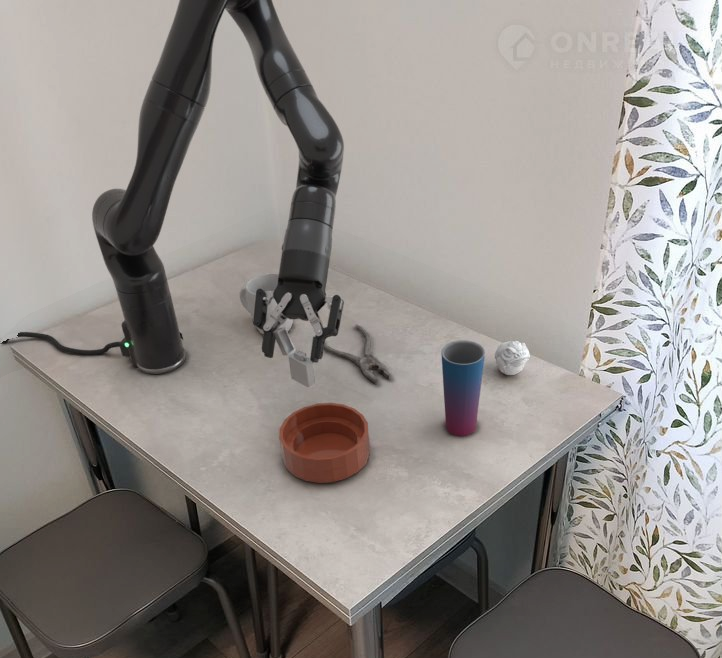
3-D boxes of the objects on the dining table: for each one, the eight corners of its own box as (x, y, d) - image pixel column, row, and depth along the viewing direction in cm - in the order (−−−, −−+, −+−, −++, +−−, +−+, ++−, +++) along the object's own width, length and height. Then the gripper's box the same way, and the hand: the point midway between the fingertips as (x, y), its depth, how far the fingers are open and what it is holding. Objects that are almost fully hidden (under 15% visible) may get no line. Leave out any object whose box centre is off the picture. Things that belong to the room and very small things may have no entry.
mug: (306, 324, 164) (300, 280, 157) (276, 345, 159) (270, 300, 152) (259, 307, 170) (253, 264, 164) (230, 326, 165) (221, 283, 158)
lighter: (316, 382, 128) (311, 340, 123) (308, 387, 127) (302, 345, 122) (286, 366, 132) (280, 324, 127) (278, 371, 131) (272, 328, 126)
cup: (437, 416, 139) (438, 342, 129) (476, 412, 139) (480, 338, 129) (444, 441, 134) (445, 366, 124) (484, 437, 134) (489, 362, 124)
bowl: (270, 478, 129) (266, 452, 126) (299, 423, 140) (296, 398, 136) (356, 491, 126) (353, 465, 122) (379, 434, 136) (378, 408, 133)
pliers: (351, 319, 162) (417, 361, 150) (352, 323, 163) (417, 365, 151) (312, 337, 158) (377, 382, 146) (313, 341, 159) (377, 385, 146)
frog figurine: (505, 388, 144) (508, 355, 140) (486, 367, 149) (488, 335, 145) (535, 379, 146) (538, 346, 141) (515, 359, 151) (518, 327, 146)
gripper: (356, 265, 128) (341, 368, 128) (270, 259, 132) (256, 359, 131) (344, 250, 121) (328, 359, 120) (254, 244, 124) (238, 350, 124)
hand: (290, 359), depth 126 cm, fingers closed on lighter, 7 cm apart
